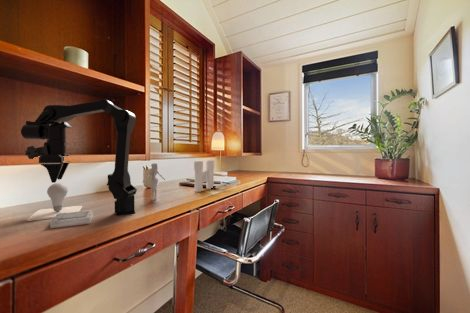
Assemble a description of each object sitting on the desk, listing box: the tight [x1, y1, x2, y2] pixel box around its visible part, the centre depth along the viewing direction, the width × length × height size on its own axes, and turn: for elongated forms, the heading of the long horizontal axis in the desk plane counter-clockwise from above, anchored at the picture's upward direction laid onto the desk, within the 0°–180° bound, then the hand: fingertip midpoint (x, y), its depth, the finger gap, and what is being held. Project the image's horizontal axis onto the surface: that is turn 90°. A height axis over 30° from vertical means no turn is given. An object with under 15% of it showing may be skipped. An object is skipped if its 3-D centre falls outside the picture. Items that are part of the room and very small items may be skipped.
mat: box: [26, 205, 83, 222], centre depth 85 cm, size 14×14×1 cm
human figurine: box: [142, 163, 166, 201], centre depth 108 cm, size 12×4×18 cm, turn 141°
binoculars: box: [193, 159, 215, 193], centre depth 138 cm, size 17×5×18 cm, turn 151°
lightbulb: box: [46, 182, 69, 212], centre depth 85 cm, size 6×6×11 cm
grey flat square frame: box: [49, 209, 94, 229], centre depth 76 cm, size 10×10×2 cm
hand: (56, 180), depth 84 cm, fingers open, 9 cm apart
